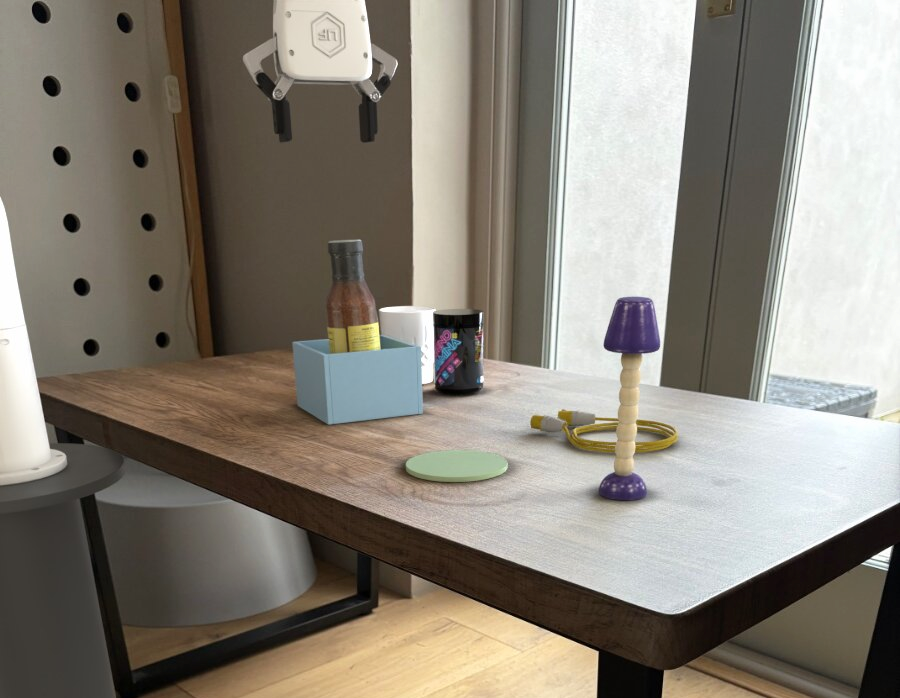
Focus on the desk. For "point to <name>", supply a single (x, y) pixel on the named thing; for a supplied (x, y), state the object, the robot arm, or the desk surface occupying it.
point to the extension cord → (587, 418)
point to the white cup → (412, 331)
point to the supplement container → (458, 351)
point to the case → (358, 381)
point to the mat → (456, 465)
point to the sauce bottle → (350, 301)
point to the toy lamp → (629, 388)
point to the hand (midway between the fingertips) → (327, 141)
